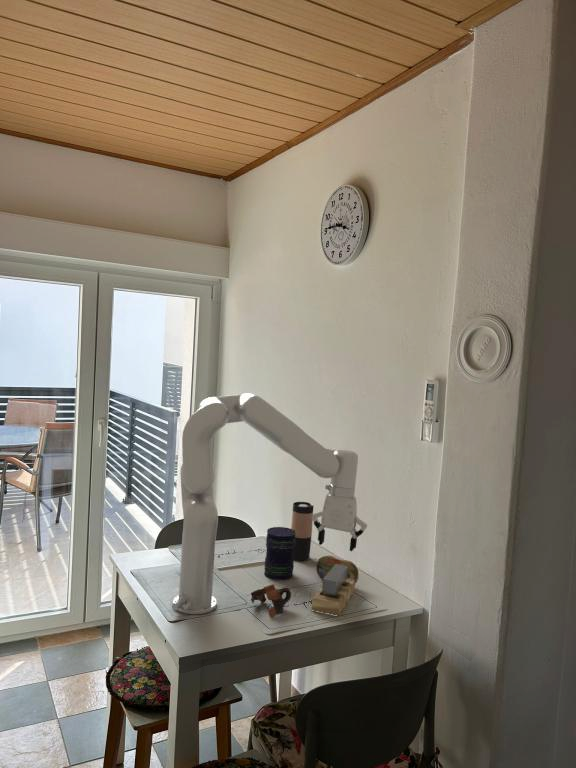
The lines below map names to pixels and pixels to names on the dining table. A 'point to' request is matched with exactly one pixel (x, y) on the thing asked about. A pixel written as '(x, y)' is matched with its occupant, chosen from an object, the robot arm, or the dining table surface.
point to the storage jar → (279, 553)
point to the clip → (334, 580)
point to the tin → (328, 563)
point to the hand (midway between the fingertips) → (336, 546)
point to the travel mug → (302, 529)
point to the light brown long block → (334, 599)
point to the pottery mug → (272, 598)
